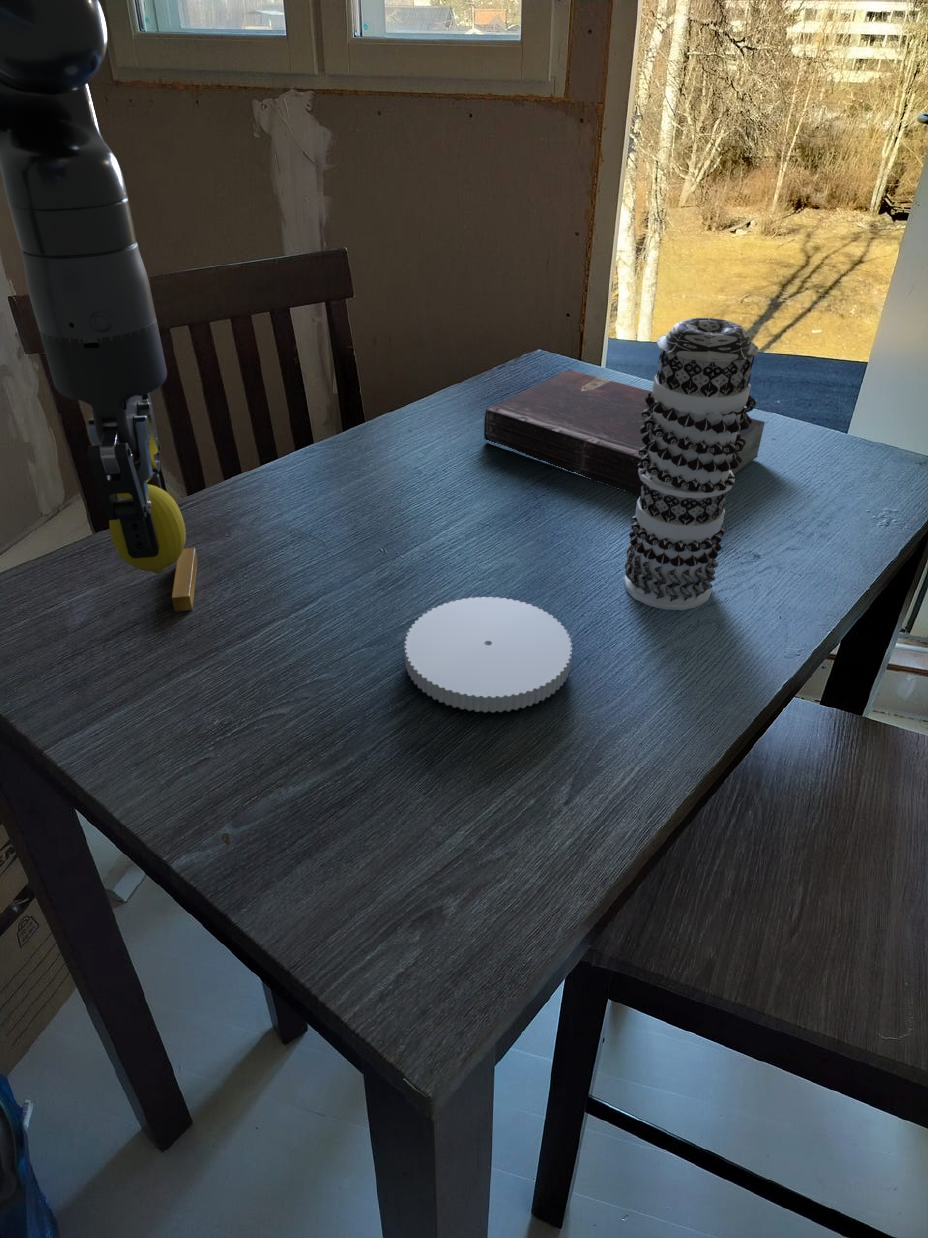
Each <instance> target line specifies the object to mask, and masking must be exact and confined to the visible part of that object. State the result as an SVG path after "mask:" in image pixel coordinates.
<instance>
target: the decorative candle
mask: <svg viewBox="0 0 928 1238" xmlns="http://www.w3.org/2000/svg"><path fill="white" fill-rule="evenodd" d="M656 344H657V346H658V348H659V349H660V354H659V357H658V361H657V363H658V370H657V372H656V374H655V376H654V377H653V383H652V391H651V392H652V394H653V396H654V397H651V393H649V394H647V395H646V396H645V402H646V403H647V404H646V409H645V410H643V412H642V417H643V418H644V419H645V420H644V425H643V426H642V427H641V428H640V432H641V434H643V435H642V436H641V440H642V442H643V447H642V448H640V449H639V455H640V456H641V459H640V463H639V464H638V466H637V467H639V470H638V473H639V476H640V479H641V481H643V482H642V485H641V496H639V498H638V499H637V500H636V508H635V515H633V516H632V517H631V519H630V522H631V531H630V532H629V538H630V539H629V544H630V545H629V546H628V547H627V549H626V561H625V562H624V563H625V564H624V568H625V570H624V573H625V574H624V577H623V584H624V589H625V591H626V592H627V593H628V594H629V595H630V596H631V597H632V598H633V599H634V600H636V601H639V602H640V603H642V604H644V605H645V606H648V607H652V608H656V609H661V610H665V611H685V610H686V611H687V610H690V609H694V608H698V607H700V606H702V605H703V604H705V603H706V602H708V601H709V598H710V597H711V594H712V591H713V584H712V582H714V581H716V576H715V574H716V568H718V567H719V562H718V561H717V558H718V557H719V552H720V551H721V550H722V547H723V546H722V544H721V542H722V540H723V538H722V537H724V536H725V533H726V531H725V529H724V528H723V527H724V526H723V525H724V524H723V523H724V517H725V513H726V509H725V503H726V498H727V493H728V492H729V491H731V490H732V488H733V486H734V484H735V480H736V477H735V474H734V475H733V473H732V471H731V469H735V468H737V467H739V464H740V463H741V461H742V458H741V457H740V456H739V454H738V453H737V452H739V451H742V450H743V447H744V446H745V444H746V441H745V439H743V438H742V436H741V435H740V434H739V433H740V432H739V433H737V432H738V431H742V430H745V429H748V428H749V425H750V424H751V423H752V419H753V418H752V419H751V417H750V415H749V414H748V413H751V412H752V411H754V408H755V406H756V405H757V400H756V399H755V398H754V397H752V396H751V394H750V391H751V387H752V386H751V384H750V381H751V376H752V372H753V371H752V370H753V365H754V361H755V356H757V354H758V352H759V351H760V348H759V347H758V346H757V344H756V343H755V342H753V341H751V338H750V336H749V333H748V332H747V331H746V329H745V328H744V327H743V326H742V325H740V324H738V323H736V322H733V321H730V320H726V319H722V318H713V317H695V318H687V319H684V320H681V321H678V322H676V324H674V326H673V327H672V328H671V329H670V331H668V333H666V334H663V335H661V336H660V337H659V338H658V339H657V341H656ZM654 399H655V400H654ZM650 413H653V416H650ZM649 429H651V431H649ZM648 431H649V432H650V435H649V432H648ZM647 450H648V452H647Z"/></svg>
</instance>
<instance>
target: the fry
mask: <svg viewBox="0 0 928 1238" xmlns="http://www.w3.org/2000/svg"><path fill="white" fill-rule="evenodd" d="M198 561H199V560H198V555H197V551H196V548H195V547H187V548H184V549H183V551H182V553H181V555H180V557H179V558H178V559H177V560H176V564H175V565H176V566H175V573H174V579H173V580H174V581H173V585H172V586H173V587H172V594H171V601H172V606H173V610H174V612H175V613H178V612H186V611H193V608H194V599H195V590H196V589H195V588H196V580H197V571H198V570H197V569H198V563H199V562H198Z"/></svg>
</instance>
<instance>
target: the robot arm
mask: <svg viewBox="0 0 928 1238" xmlns="http://www.w3.org/2000/svg"><path fill="white" fill-rule="evenodd" d="M107 49H108V29H107V23H106V19H105V16H104V11H103V8H102V6H101V3H100V1H99V0H0V174H1V178H2V182H3V187H4V192H5V197H6V200H7V204H8V207H9V212H10V215H11V219H12V223H13V226H14V230H15V233H16V237H17V241H18V244H19V248H20V250H21V251H20V252H21V256H22V262H23V267H24V276H25V282H26V287H27V293H28V297H29V300H30V304H31V307H32V310H33V314H34V318H35V321H36V325H37V328H38V333H39V336H40V339H41V342H42V346H43V349H44V354H45V357H46V361H47V364H48V367H49V371H50V375H51V378H52V383H53V385H54V387H55V390H56V391H57V392H58V393H59V394H60V395H61V396H63V397H65V398H68V399H70V400H73V401H81V402H84V403H85V404H88V405H89V406H90V407H91V409H92V417H93V418H89V419H88V420H87V427H88V434H89V440H90V442H91V443H92V444H93V445H88V446H87V452H86V456H87V459H88V460H89V463H90V467H91V469H92V472H93V475H94V478H95V482H96V484H97V488H98V490H99V493H100V496H101V500H102V503H103V506H104V509H105V514H106V516H107V518H108V520H117V519H119V520H120V524H121V527H122V531H123V535H124V539H125V543H126V547H127V551H128V554H129V556H130V557H132V558H135V559H136V558H147V557H155V556H157V555H158V553H159V548H160V547H159V542H158V538H157V534H156V529H155V525H154V521H153V516H152V512H151V508H152V504H151V501H150V499H149V492H148V485H147V484H149V485H153V486H156V487H158V488H160V489H163V487H162V482H161V477H160V474H159V473H160V471H161V466H162V465H161V461H160V460H159V457H158V456H160V455H161V451H162V446H161V443H160V439H159V436H158V430H157V425H156V420H155V419H156V418H155V411H154V409H153V403H152V398H151V393H152V392H154V391H156V390H157V389H159V388H160V387H161V386H163V384H164V383H165V382H166V380H167V377H168V370H167V365H166V361H165V360H166V359H165V355H164V349H163V345H162V340H161V336H160V330H159V324H158V319H157V315H156V310H155V305H154V300H153V294H152V291H151V284H150V281H149V276H148V273H147V269H146V267H145V264H144V261H143V258H142V255H141V252H140V249H139V243H138V242H137V235H136V231H135V225H134V221H133V215H132V211H131V210H132V209H131V206H130V205H131V204H130V201H129V196H128V191H127V188H126V182H125V179H124V175H123V171H122V170H121V167H120V164H119V162H118V160H117V157H116V156H115V154H114V152H113V150H111V148H110V147H109V146H108V144H107V143H106V142H105V140H104V138H103V136H102V134H101V131H100V129H99V123H98V121H97V117H96V112H95V109H94V104H93V101H92V97H91V92H90V89H89V85H88V84H89V83H90V82H91V81H92V80H93V79H94V78H95V77H96V76H97V74H98V73H99V72H100V70H101V68H102V66H103V64H104V61H105V59H106V54H107ZM122 493H129V494H130V495H131V496H132V498H127V499H121V494H122Z"/></svg>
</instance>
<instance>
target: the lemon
mask: <svg viewBox="0 0 928 1238" xmlns="http://www.w3.org/2000/svg"><path fill="white" fill-rule="evenodd" d="M147 485H148V492H149V499H150V501H151V504H152V508H151V512H152V516H153V521H154V525H155V529H156V534H157V538H158V542H159V547H160V548H159V553H158V555H157V556H155V557H147V558H136V559H135V558H132V557H130V556H129V554H128V551H127V547H126V543H125V539H124V535H123V531H122V527H121V524H120V520H119V519H117V520H109V519H108V520H109V521H108V522H109V523H108V524H109V525H108V526H109V533H110V538H111V541H112V543H113V545H114V548H115V550H116V552H117V553H118V555H119V556H120V557H121V559H122V560H123V561H125V563H127V564H128V565H130V566H131V567H133V568H135V569H138V570H140V571H146V572H152V573H154V574H161V573H162V572H163V571H164V570H165V569H167V568H168V567H170V566H172V565H173V564H175V563H176V562H177V559H178V558H179V557H180V555H181V553H182V551H183V549H185V544H186V539H187V532H186V524H185V521H184V517H183V515H182V512H181V510H180V507H179V505H178V504H177V501H176V500H175V499H174V498H173V497H172V495H170V494H169V493H168V492H167V490H164V489H163V488H162V489H160V488H158V487H156V486H153V485H149V484H147ZM127 498H132V496H131V495H130V494H129V493H122V494H121V499H127Z"/></svg>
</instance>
